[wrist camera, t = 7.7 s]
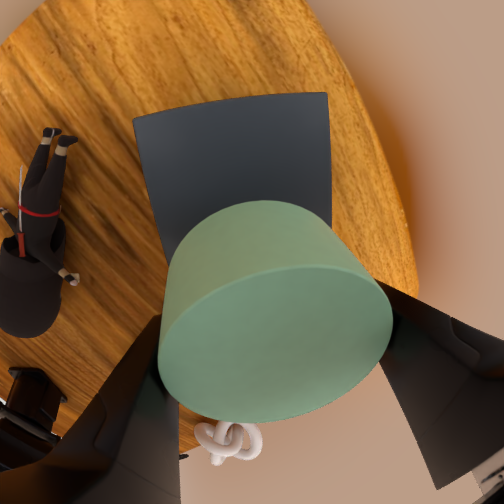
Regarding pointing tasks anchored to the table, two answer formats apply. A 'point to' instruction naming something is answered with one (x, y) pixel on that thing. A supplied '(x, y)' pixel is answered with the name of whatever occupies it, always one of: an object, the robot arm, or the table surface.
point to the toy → (36, 246)
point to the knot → (228, 440)
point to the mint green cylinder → (267, 316)
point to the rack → (235, 158)
